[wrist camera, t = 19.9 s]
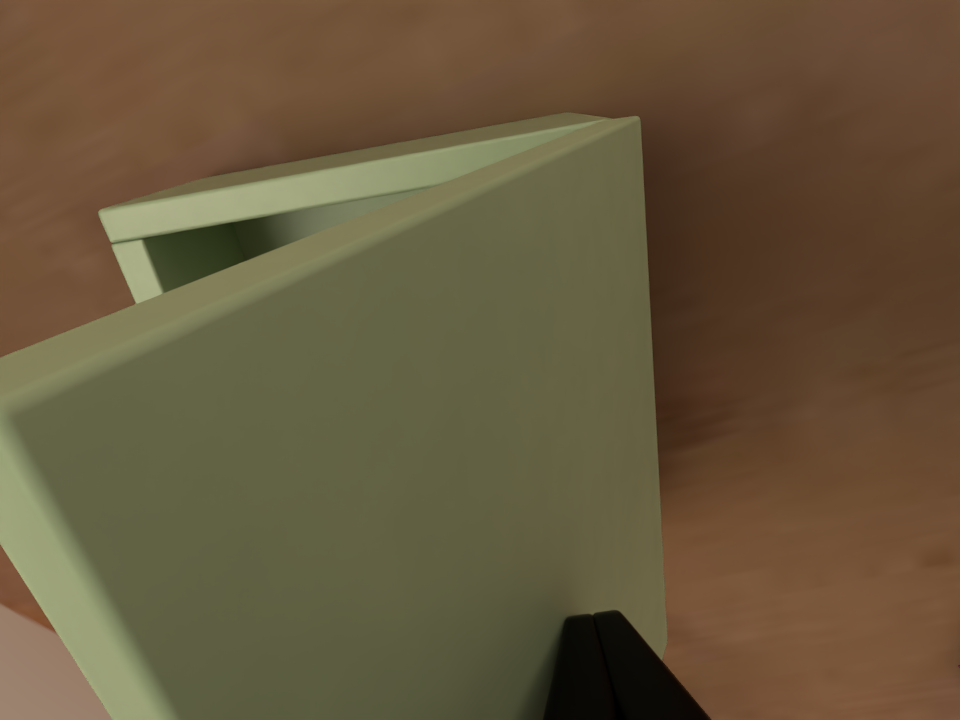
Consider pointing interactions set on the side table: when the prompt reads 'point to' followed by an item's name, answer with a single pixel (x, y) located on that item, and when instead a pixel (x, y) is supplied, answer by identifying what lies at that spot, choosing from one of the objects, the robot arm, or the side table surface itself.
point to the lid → (357, 458)
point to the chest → (296, 200)
